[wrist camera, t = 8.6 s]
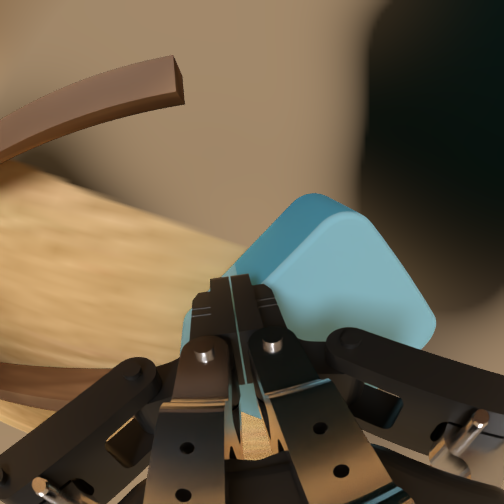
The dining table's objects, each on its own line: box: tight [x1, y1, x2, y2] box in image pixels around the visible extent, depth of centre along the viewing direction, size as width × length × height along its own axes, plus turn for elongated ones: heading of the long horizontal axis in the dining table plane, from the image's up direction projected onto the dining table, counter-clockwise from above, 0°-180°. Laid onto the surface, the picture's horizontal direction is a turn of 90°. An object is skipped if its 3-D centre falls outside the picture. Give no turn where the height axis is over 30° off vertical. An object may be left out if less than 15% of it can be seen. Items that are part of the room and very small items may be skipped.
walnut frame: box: [0, 55, 185, 418], centre depth 12 cm, size 19×26×4 cm
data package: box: [180, 193, 436, 419], centre depth 15 cm, size 12×4×12 cm
